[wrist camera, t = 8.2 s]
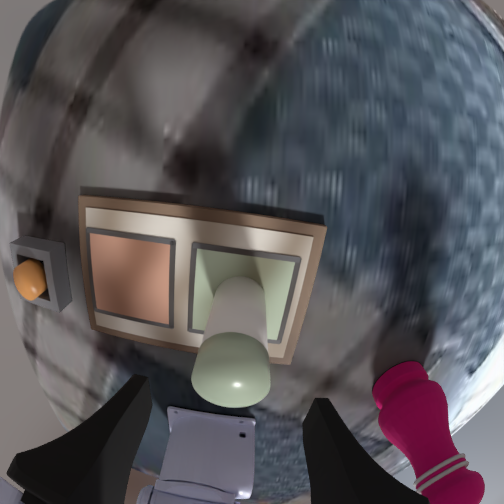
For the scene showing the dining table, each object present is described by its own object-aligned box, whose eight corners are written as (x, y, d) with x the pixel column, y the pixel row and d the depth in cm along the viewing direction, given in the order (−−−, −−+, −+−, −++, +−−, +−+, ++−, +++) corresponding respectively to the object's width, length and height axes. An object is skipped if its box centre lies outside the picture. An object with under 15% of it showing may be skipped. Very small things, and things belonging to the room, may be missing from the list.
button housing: (64, 243, 19) (49, 251, 17) (72, 300, 21) (59, 312, 19) (24, 235, 19) (9, 242, 17) (32, 288, 21) (20, 298, 19)
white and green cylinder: (271, 281, 19) (280, 364, 11) (259, 324, 20) (259, 411, 12) (218, 270, 19) (194, 348, 11) (210, 314, 20) (188, 399, 12)
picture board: (325, 224, 18) (327, 227, 18) (289, 360, 22) (290, 366, 22) (82, 194, 18) (77, 196, 17) (94, 325, 22) (90, 330, 21)
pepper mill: (380, 360, 23) (455, 542, 4) (435, 352, 23) (519, 495, 4) (359, 406, 25) (402, 561, 6) (411, 397, 25) (466, 528, 6)
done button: (45, 260, 18) (32, 269, 16) (51, 294, 19) (40, 304, 17) (22, 255, 18) (10, 262, 16) (28, 287, 19) (17, 296, 17)
